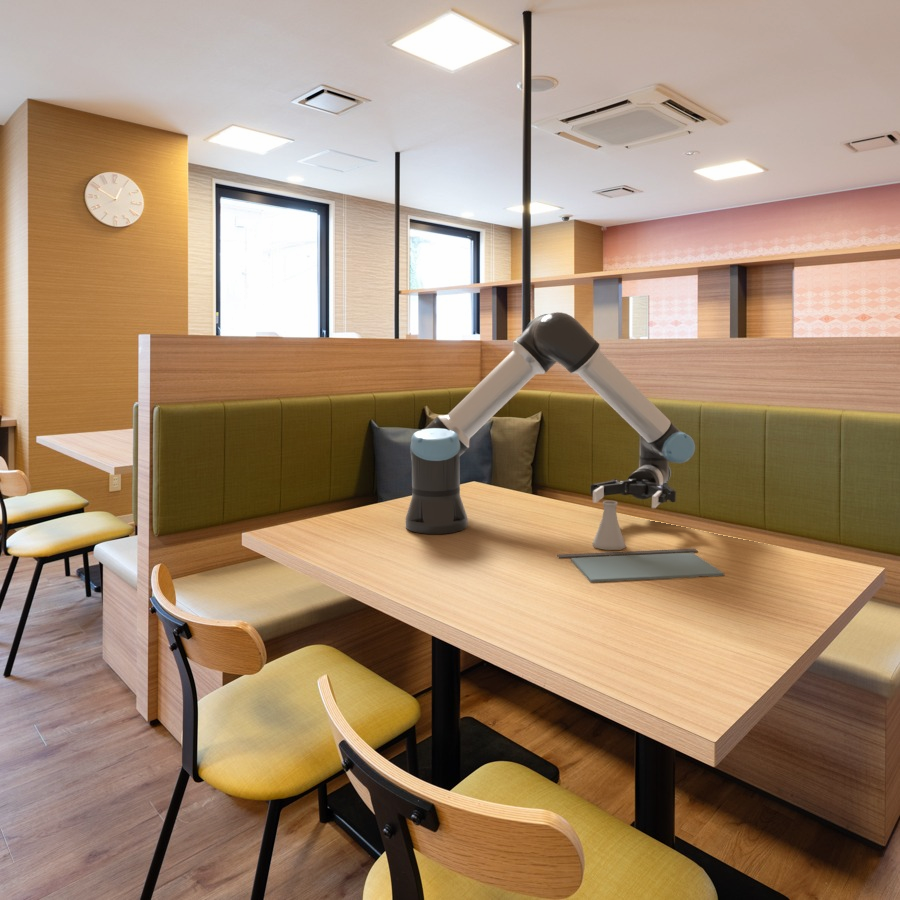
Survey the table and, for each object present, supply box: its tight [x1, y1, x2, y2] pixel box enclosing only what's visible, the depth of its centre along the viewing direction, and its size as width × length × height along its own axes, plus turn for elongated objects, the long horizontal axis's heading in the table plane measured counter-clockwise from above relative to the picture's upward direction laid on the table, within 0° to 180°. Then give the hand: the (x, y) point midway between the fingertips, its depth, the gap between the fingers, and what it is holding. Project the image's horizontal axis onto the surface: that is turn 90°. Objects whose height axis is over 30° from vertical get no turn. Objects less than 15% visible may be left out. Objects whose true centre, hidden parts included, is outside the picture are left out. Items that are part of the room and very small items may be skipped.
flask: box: [592, 500, 627, 551], centre depth 147 cm, size 7×7×10 cm
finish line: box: [556, 548, 699, 559], centre depth 142 cm, size 30×2×1 cm, turn 96°
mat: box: [570, 552, 725, 583], centre depth 133 cm, size 26×13×1 cm, turn 96°
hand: (623, 499), depth 154 cm, fingers open, 13 cm apart
